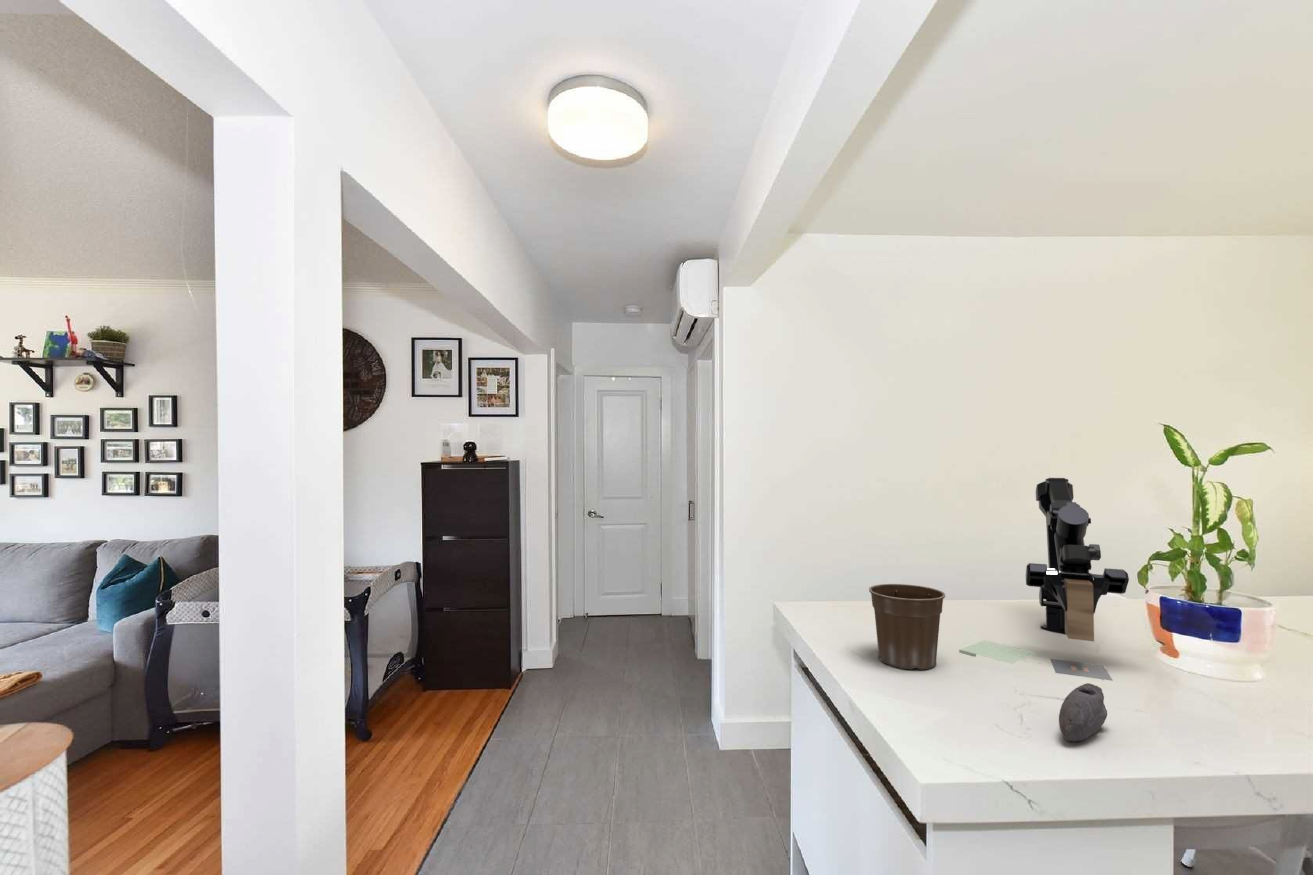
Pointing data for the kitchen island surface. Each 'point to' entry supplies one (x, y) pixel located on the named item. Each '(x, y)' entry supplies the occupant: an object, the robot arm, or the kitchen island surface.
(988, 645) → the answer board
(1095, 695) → the perforated stone tool
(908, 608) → the plant pot
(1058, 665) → the plate
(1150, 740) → the kitchen island surface
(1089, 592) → the walnut post
